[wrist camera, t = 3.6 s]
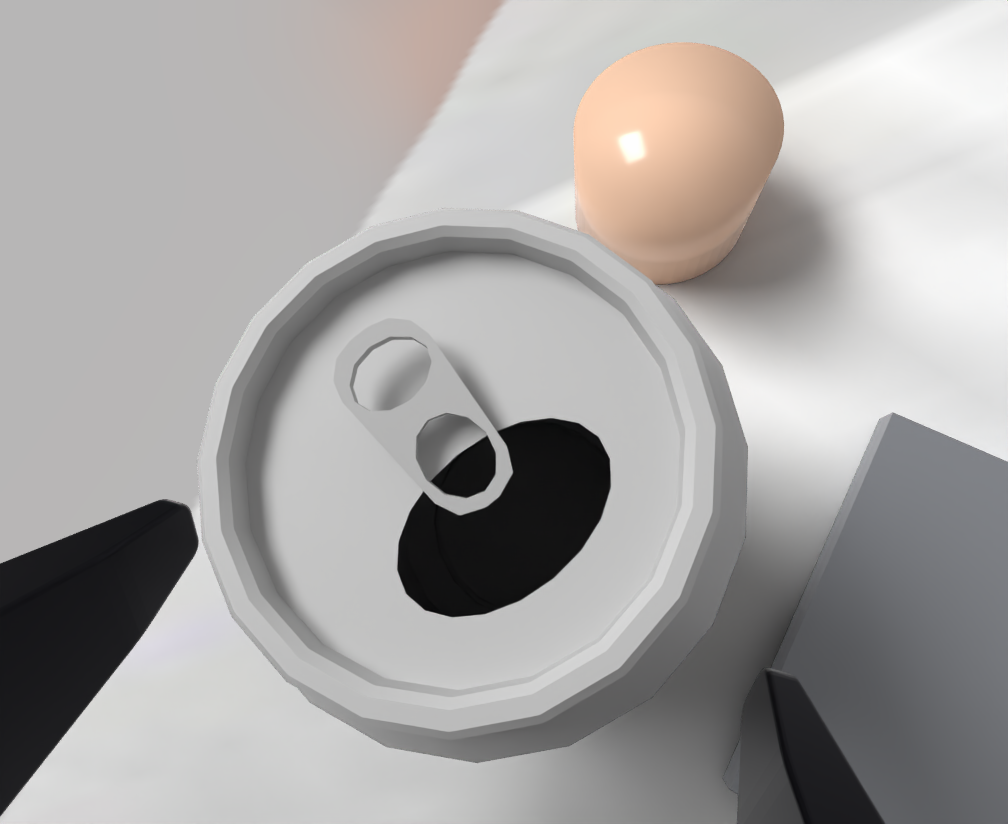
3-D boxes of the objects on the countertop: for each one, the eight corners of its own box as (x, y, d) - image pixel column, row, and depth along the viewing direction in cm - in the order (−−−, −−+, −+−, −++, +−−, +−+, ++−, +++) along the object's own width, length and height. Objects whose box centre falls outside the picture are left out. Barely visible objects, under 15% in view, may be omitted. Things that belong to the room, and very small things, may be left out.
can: (511, 704, 17) (360, 1003, 6) (366, 499, 19) (32, 401, 8) (712, 537, 17) (961, 487, 6) (548, 353, 19) (497, 48, 8)
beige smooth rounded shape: (690, 314, 19) (717, 253, 15) (544, 237, 21) (535, 163, 17) (776, 180, 20) (822, 89, 16) (629, 114, 21) (639, 15, 17)
